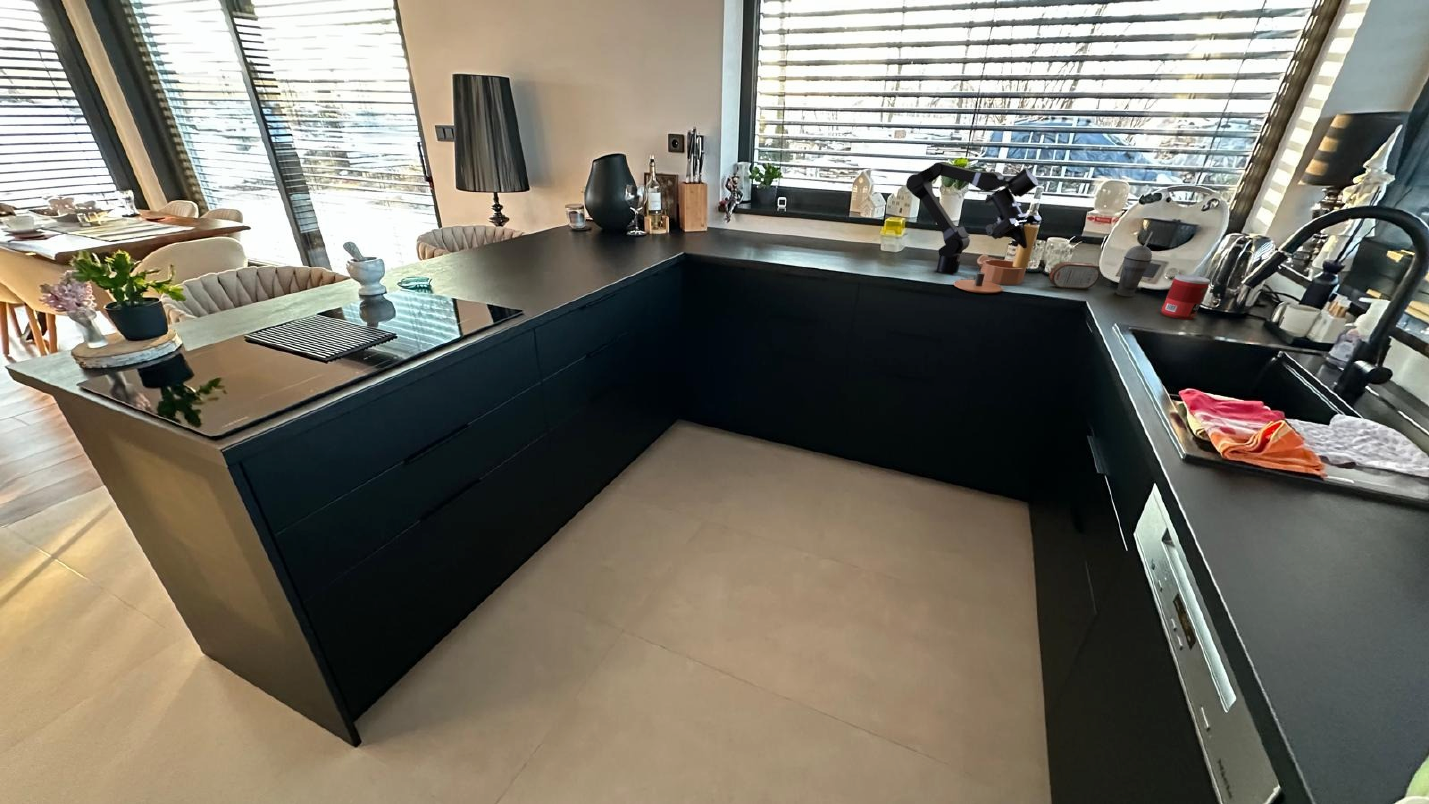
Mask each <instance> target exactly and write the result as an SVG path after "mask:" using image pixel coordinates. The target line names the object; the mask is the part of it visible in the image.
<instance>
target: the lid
mask: <svg viewBox="0 0 1429 804" xmlns="http://www.w3.org/2000/svg"><path fill="white" fill-rule="evenodd" d="M984 276H985V273H981V272H980V271H979V272H976V275H975V279H958V280H955V281H954V282H953V285H954V287H956V288H958V289H961V290H964V291H966V292H971V293H976V294H997V293H1001V292H1002V291H1003V287H1002V286H1001V285H1000V284H995V283H991V282H986V281H984Z"/></svg>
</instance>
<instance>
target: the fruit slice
mask: <svg viewBox="0 0 1429 804" xmlns="http://www.w3.org/2000/svg"><path fill="white" fill-rule="evenodd" d="M996 259H997V258H995V257H993V256H990V255H988V254H987V253H982V254H981V255H980V256H979V257H978V258H977V259H976V263H977V265H978V266H979V267H980V268H981V267H982V262H983V261H984V260H996Z"/></svg>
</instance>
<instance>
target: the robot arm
mask: <svg viewBox="0 0 1429 804" xmlns="http://www.w3.org/2000/svg"><path fill="white" fill-rule="evenodd" d="M941 176H942V177H945V178H948V179H953V180H957V181H961V182H964V183H969V184H970V185H973V187H975V188H977V189H979V190H982V191H983V192H987V194H986V198H985V199H984V204H992V203H993V205H994V207H995V209H996V210H997V212H998V213H997V214H996V218H997V221H996V222H994V223H993V224H988V225H986V226H985V231H986V234H987V236H988V237H992V238H993V239H994V240H998V239H1003V238H1004V237H1007V238H1011V239H1012V240H1013V241H1014V242H1016V243H1017V245H1018V244H1019V245H1020V246H1021V247H1023V248H1024V249H1025V248H1026V247H1027V241H1026V237H1025V232H1024V227H1023V226H1024V225H1036V226H1037V225H1038V224H1039V223H1041V222H1042V218H1041V216H1040V214H1030V215H1029V216H1028V214H1027V213H1023V212H1022V209H1021V206H1022V204H1021V202H1017V201H1016V198H1015V197H1020V198H1022V197H1023V196H1024V195H1026V194H1028V193H1030V191H1033V190H1034V189H1035V188H1037V187H1038V186H1039V181H1038V179H1037V177H1036V176H1035V175H1034V174H1032V172H1031V171H1029V169H1028V168H1027V167H1026V168H1025V167H1024V168H1023V169H1021V170H1020V171H1019V172H1018V173H1017V174H1015V175H1014V176H1013V177H1011V178H1010V177H1009V178H1008V177H1005V176H1003V174H1002V173H1001V172H999V171H984V170H983V171H981V170H980V171H979V170H973V169H969V168H965V167H961V166H957V165H953V164H949V163H946V162H944V161H938V162H935V163H934V164H932V165H931V166H929V167H927V168H926V169H923V170H921V171H920V172H918V173H914V174H911V175H909V176H908V178H907V179H906V182H905V183H906V184H905V187H906V189H907V190H908V191H909V192H910V193H911V194H912V195H913V196H914V197H916V199H919V200H920V201H921V203H922V204H923V205H924V208H925V209H926V210H927V212H928V214H930V216H931V218H932V219H933V221H934V223H935V224H936V225H937V227H938V228H939V230H940V232H941V233H942V237H943V238H942V239H943V242H944V245H943V246H941V247H940V248H939V249H938V250H937V251H938V256H939V257H938V262H937V266H936V269H935V270H934V272H935V273H940V274H946V275H954V274H956V273H958V272H959V271H960V270H959V269H960V264H961V259H960V258H961V254H962V253H963V251H965V250H967V248H968V247H969V246H970V242H971V240H970V235H971V234H969V233H968V232H967V230H966V228H965V227H964V226H963V225H962V226H959V227H958V226H957V225H956V224H954V222H953V220H952V219H951V217H950V216H949V214H948V213H947V211H946V210H945V208H944V207H943V205H942V203H941V202H940V201H939V199H938V198H937V196H936V195H935V194H934V190H933V185H932V182H934V181H935V180H936V179H937V178H939V177H941ZM1003 187H1004V188H1003ZM1000 188H1002V189H1000ZM992 191H993V193H992V194H988V192H992ZM994 191H995V192H994ZM1035 246H1036V241H1035V242H1034V246H1033V248H1034V247H1035Z"/></svg>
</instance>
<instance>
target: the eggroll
mask: <svg viewBox="0 0 1429 804" xmlns="http://www.w3.org/2000/svg"><path fill="white" fill-rule="evenodd" d="M1023 227H1024V232H1025V237H1026V241H1027V247H1026V248H1025V249H1024V248H1023V247H1021V246H1020V245H1019V244H1018V243H1017V247H1016V251H1015V255H1014V259H1013V261H1014V262H1013V265H1012V266H1013V267H1017V268H1026V269H1028V266H1029V262H1030V259H1031V256H1032V252H1033V249H1034V247H1035V246H1034V242H1035V243H1036V238H1037V235H1038V231H1039V228H1040V226H1039V225H1037V224H1036V225H1024V226H1023ZM1033 246H1034V247H1033Z"/></svg>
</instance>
